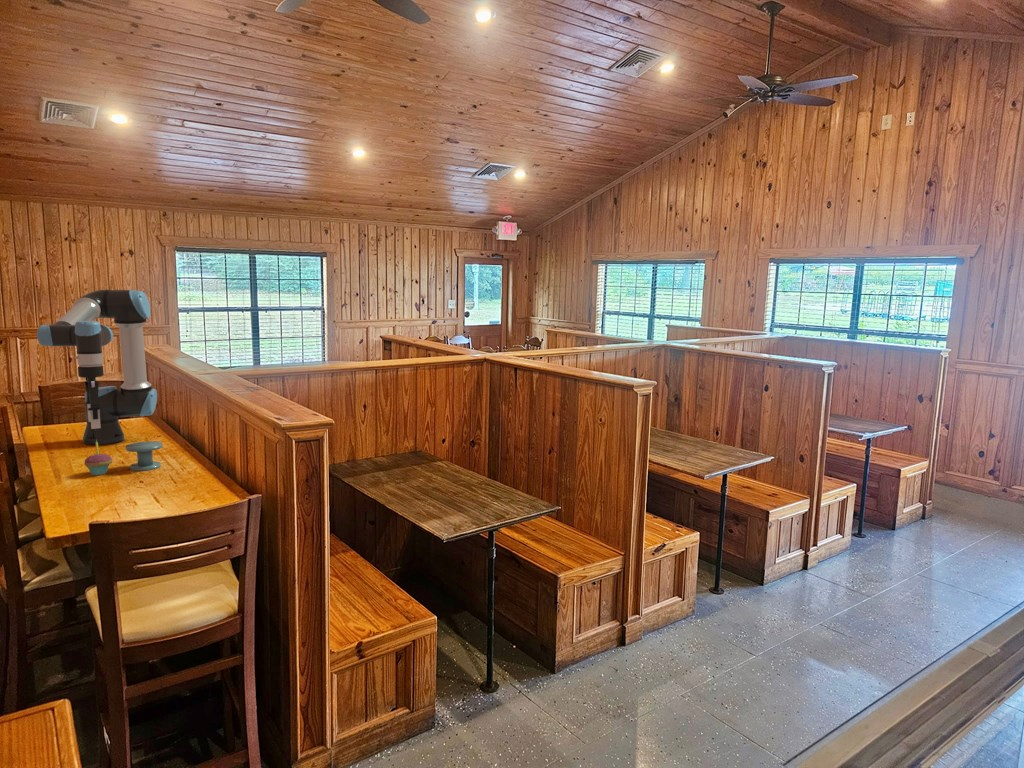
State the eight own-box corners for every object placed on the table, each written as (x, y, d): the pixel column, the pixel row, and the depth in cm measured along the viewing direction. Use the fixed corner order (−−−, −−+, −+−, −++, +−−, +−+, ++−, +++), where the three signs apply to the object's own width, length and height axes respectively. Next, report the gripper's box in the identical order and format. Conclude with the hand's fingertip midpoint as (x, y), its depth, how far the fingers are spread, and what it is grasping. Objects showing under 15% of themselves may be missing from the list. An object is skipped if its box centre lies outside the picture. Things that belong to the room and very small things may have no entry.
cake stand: (125, 465, 244) (123, 443, 242) (161, 461, 251) (159, 439, 249) (129, 473, 234) (127, 450, 233) (166, 468, 241) (165, 446, 240)
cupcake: (83, 472, 234) (81, 440, 232) (111, 468, 239) (108, 437, 238) (87, 478, 228) (84, 445, 226) (115, 474, 233) (113, 441, 231)
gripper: (75, 362, 235) (79, 419, 238) (79, 369, 215) (84, 432, 218) (99, 361, 240) (103, 417, 243) (106, 368, 220) (110, 430, 223)
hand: (94, 424), depth 231 cm, fingers open, 13 cm apart
